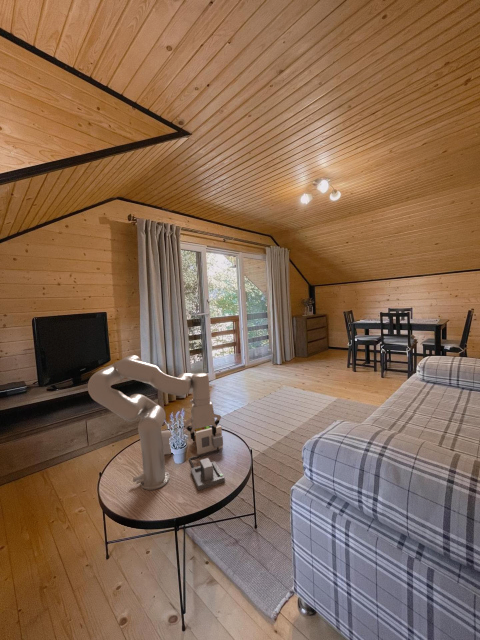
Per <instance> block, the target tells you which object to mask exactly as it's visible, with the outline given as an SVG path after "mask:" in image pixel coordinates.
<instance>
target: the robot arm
mask: <svg viewBox="0 0 480 640" xmlns="http://www.w3.org/2000/svg"><path fill="white" fill-rule="evenodd" d="M125 378H127V379H130V380H134V381H138V382H140V383H141V382H142V383H144V384H148V385H151V386H152V387H153V388H155V389H156V390H158V391H161V392H162V393H165V394H167V395H172V396H177V397H178V396H179V397H183V396H185V395H187V394H188V393H189V392H190V390H191V389H192V399H190V400H189V403H190V404H192V405H191V409H190V410H191V411H190V412H191V414H190V418H188V419H187V420H186V421H185V422H184V423H183V426H184V427H185V429H186V430H187V431H188V432H189V433H190V434H189V435H190V440H192V441H193V442H194V441H195V435H196V433H195V431H194V430H195V429H198V428H203V427H207V426H209V427H210V426H211V428H212V434H213V435H214V436H216V434H215V433H216V427H217V426H219V423H220V422H221V419H222V416H221V415H220V414H217V413H215V411H214V405H213V403H212V402H211V397H210V395H211V394H210V377H209V375H208V374H207V373H206V372H198V373H190V372H189V373H187V372H183V373H180V374H179V375H178V376H177V377H176V376H171V375H169V374H166V373H164V372H163V371H162V370H161V369H160V367H159V366H157V365H156V364H152V363H149V362H145V361H142V358H141V357H139V356H138V355H134V354H129V355H128V356H126V357H123V358H121V359H120V360H118V361H116V362H114V363H112V364H110V365H108V366H106V367H104V368H102V369H100V370H98V371H96V372H94V373H93V374H92V375H91V376H90V378H89V380H88V383H87V391H88V394H89V396H90V398H91V399H92V400H93V401H95V402H96V403H97V404H99V405H100V406H103V407H105V408H106V409H107V410H109V411H111V412H112V413H113V414H115V415H117V416H118V417H120V418H121V419H123V421H126V422H129V423H131V422H134V421H136V420H137V419H138V418H139V417H140V421H139V422H138V426H137V432H138V436H139V440H140V448H141V458H142V470H143V471H142V474H140V475H137V476H133V477H132V482H133V483H135V482H136V483H135V484H140V487H142V489H143V490H148V491H155V490H157V489H160V488H162V487H164V486H165V485H166V484H167V483H168V482H169V480H170V473H169V471H166V462H165V455H164V446H163V437H162V433H161V431H162V426H163V424H164V422H165V420H166V414H167V413H166V411H165V410H164V408H163V407H162V406H161V405H159V404H157V403H156V402H155V401H153V400H152V399H150V398H149V397H147V396H145V395H143V394H141V393H134V394H131V395H130V396H127V395H126V394H124V393H123V392H122V391H120V390H118V389H115V388H112V387H111V386H113V385H115V384H116V383H117V382H119V381H121V380H123V379H125ZM189 424H191V426H189Z"/></svg>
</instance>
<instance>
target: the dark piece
mask: <svg viewBox="0 0 480 640" xmlns="http://www.w3.org/2000/svg"><path fill="white" fill-rule="evenodd" d="M219 452H220V449H219V447H217V450H213V451H210V452H207V453H203V454H200V455H198V454H197V455H195V456H192V457H189V458H188V461H189V463H190V465H191V468H194V467H195V466H194V465H195V464H194V463H193V460H194V459H195V460H196V459H199V458H202V457H206V456H208V455H212V454H215V453H219Z"/></svg>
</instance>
